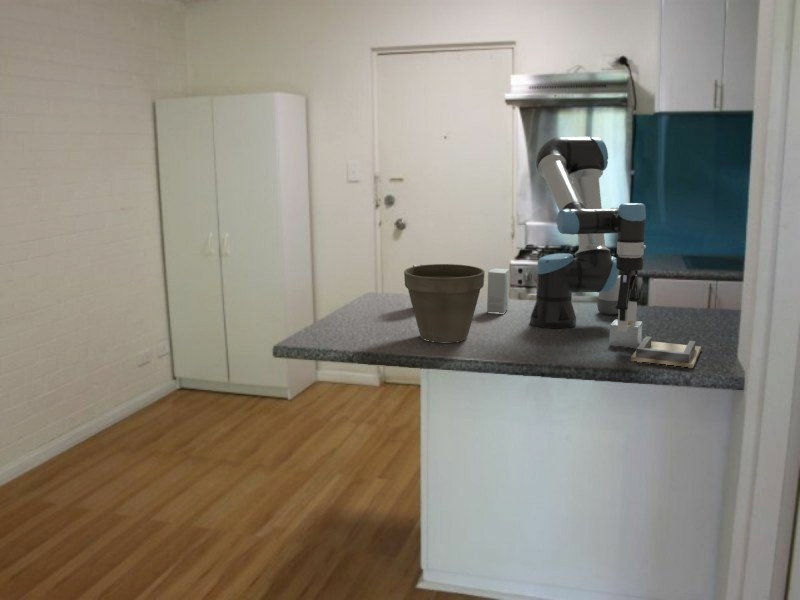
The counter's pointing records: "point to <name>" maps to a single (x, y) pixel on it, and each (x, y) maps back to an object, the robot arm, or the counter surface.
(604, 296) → the smart speaker
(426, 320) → the plant pot
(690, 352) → the board
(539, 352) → the counter surface
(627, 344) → the lock block
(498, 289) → the skincare box
